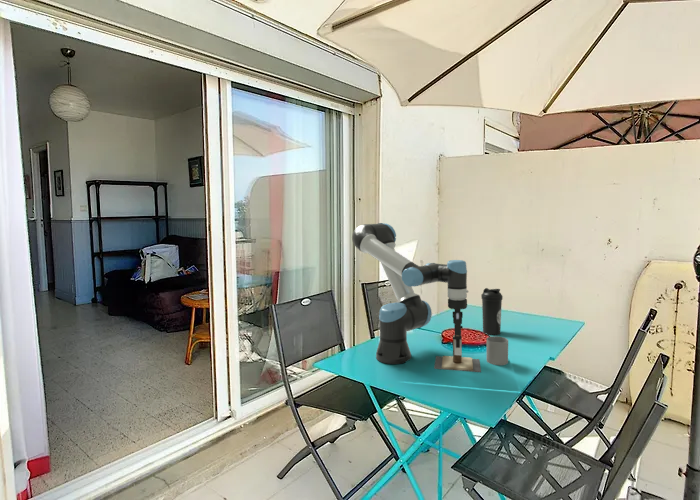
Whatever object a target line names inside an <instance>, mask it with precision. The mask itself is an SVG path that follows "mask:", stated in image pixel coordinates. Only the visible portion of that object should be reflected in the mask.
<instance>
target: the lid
mask: <svg viewBox="0 0 700 500" xmlns="http://www.w3.org/2000/svg"><path fill="white" fill-rule="evenodd" d="M456 336H458V335H456ZM453 337H455V334H453V335H452V355H442V357H443V360H442V368H445V369H458V370H471V371H473V363H472V359H473V357H468V356H467V357H466V356H462V355H463V354H462V355H454V339H453ZM462 338H463V336H462V335H461V348H462V347H463V344H462V341H463V339H462Z"/></svg>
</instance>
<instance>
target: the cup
mask: <svg viewBox="0 0 700 500" xmlns="http://www.w3.org/2000/svg"><path fill="white" fill-rule="evenodd" d="M485 356H486V362H487V363H488V364H491V365H495V366H505V365H508V364H509V339H508V338H506V337H502V336H498V335H490V336H488V337H487V338H486V355H485Z"/></svg>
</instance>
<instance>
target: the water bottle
mask: <svg viewBox="0 0 700 500" xmlns="http://www.w3.org/2000/svg"><path fill="white" fill-rule="evenodd" d="M500 291H501V289H500V288H492V289H491V288H488V287H486V288H484V289H483V292H482V294H481V303H482V304H481V309H482V311H481V312H482V333H483V332H484V333H487V334H488V335H489V336H498V335H500V334H501V326H502V305H503V303H502V302H503V301H502V300H503V299H504V298H503V297H504V296H503V294H502V293H501V292H500ZM484 333H483V334H484ZM487 334H486V335H487Z"/></svg>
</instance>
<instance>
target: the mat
mask: <svg viewBox="0 0 700 500" xmlns="http://www.w3.org/2000/svg"><path fill="white" fill-rule="evenodd" d="M434 360H435V361H434V367H433V369H435V370H445V371H446V370H447V371H458V372H472V373H482V368H481V367H482V366H481V362H480V359H479V358H472V363H473V371H471V370H458V369H445V368H442V360H443V356H439V355H438V356H437V355H436V356H435V359H434Z"/></svg>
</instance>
